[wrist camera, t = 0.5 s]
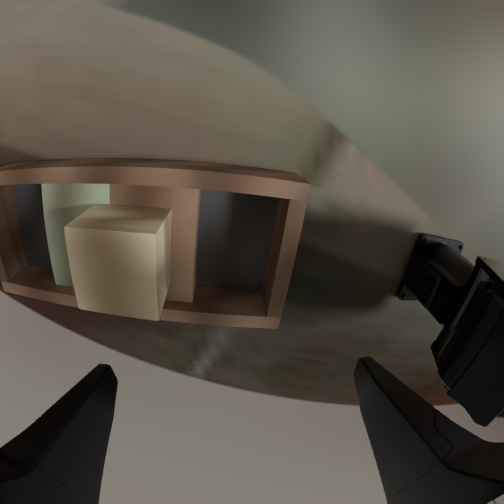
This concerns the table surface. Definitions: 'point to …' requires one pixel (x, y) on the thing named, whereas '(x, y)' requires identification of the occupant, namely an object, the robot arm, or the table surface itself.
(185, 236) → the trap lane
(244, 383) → the table surface
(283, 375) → the table surface
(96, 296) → the block
